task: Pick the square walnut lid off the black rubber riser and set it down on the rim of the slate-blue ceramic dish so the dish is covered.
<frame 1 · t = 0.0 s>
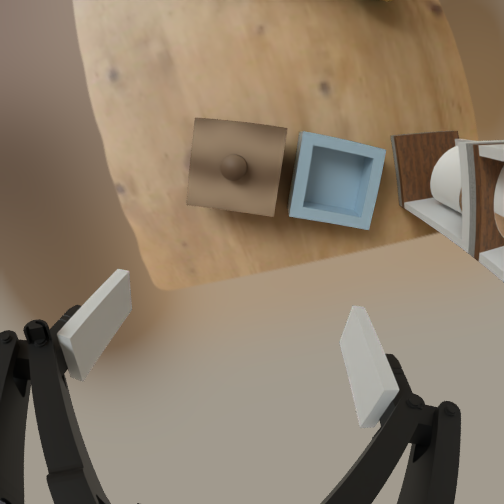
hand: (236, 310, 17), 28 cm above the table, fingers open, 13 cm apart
lid: (236, 164, 37), point 4 cm above the table, touching riser
white stacked pedestal: (426, 166, 39), on the table
dish: (331, 176, 40), on the table
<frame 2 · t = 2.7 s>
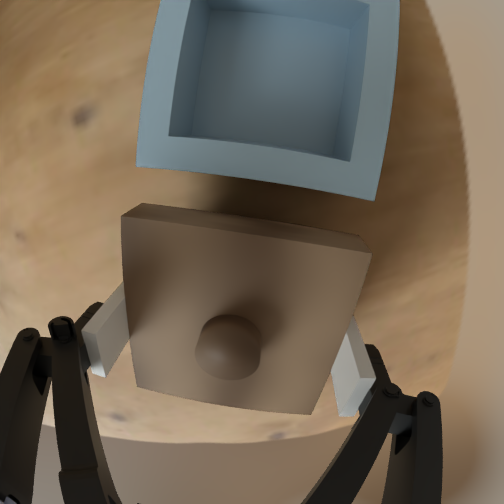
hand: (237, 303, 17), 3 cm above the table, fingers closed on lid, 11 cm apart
lid: (236, 312, 16), point 4 cm above the table, touching gripper, riser
dish: (271, 78, 15), on the table
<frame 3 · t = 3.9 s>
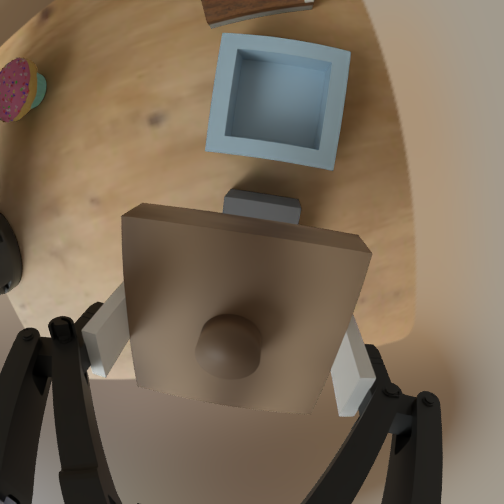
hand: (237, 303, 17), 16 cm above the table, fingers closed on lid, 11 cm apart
lid: (236, 312, 16), point 16 cm above the table, touching gripper
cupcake: (36, 90, 27), on the table
riser: (259, 225, 32), on the table
dish: (278, 103, 27), on the table
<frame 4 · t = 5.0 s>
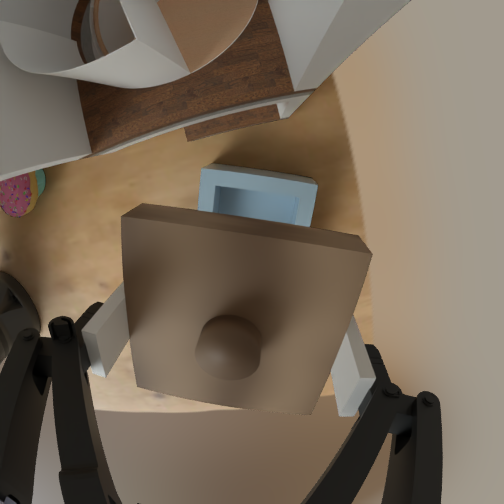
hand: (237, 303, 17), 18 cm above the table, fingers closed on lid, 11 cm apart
lid: (236, 312, 16), point 19 cm above the table, touching gripper
white stacked pedestal: (227, 80, 28), on the table
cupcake: (36, 178, 33), on the table
dish: (254, 217, 34), on the table
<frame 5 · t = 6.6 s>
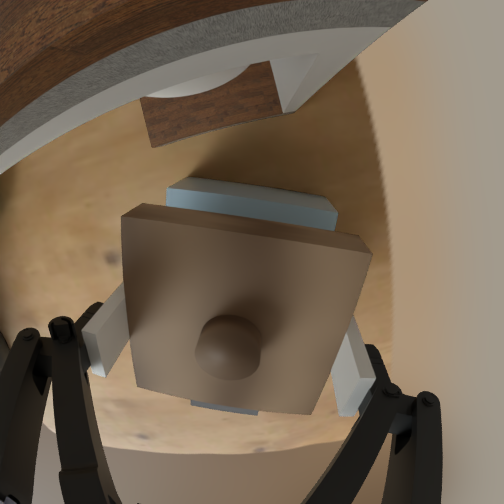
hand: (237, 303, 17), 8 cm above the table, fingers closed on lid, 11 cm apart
lid: (236, 312, 16), point 9 cm above the table, touching gripper
white stacked pedestal: (208, 62, 19), on the table
riser: (231, 363, 30), on the table
dish: (246, 250, 25), on the table
when the fingers open (5 cm above the table, at t = 7.8 s): lid drops 1 cm, resting on dish.
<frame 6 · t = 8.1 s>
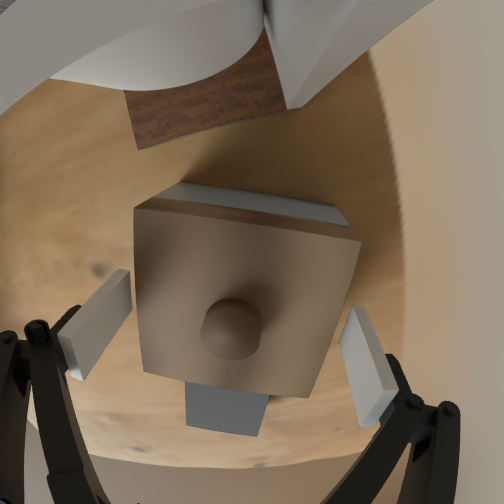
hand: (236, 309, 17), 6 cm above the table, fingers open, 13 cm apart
lid: (237, 299, 18), point 5 cm above the table, touching dish
white stacked pedestal: (203, 53, 17), on the table
riser: (229, 381, 27), on the table
dish: (245, 264, 22), on the table
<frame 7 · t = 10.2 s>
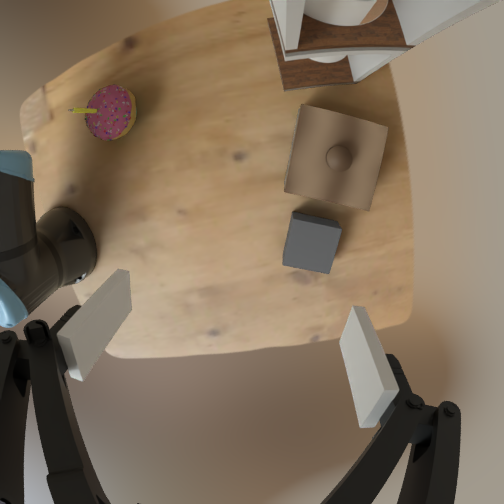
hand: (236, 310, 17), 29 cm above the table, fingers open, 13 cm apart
lid: (334, 156, 35), point 5 cm above the table, touching dish
white stacked pedestal: (312, 51, 35), on the table
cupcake: (125, 113, 40), on the table
riser: (309, 238, 45), on the table
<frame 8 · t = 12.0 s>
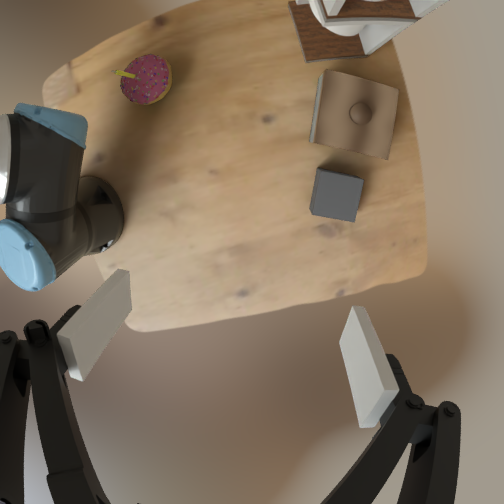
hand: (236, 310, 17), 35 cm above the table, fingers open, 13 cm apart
lid: (354, 115, 38), point 5 cm above the table, touching dish
white stacked pedestal: (327, 30, 37), on the table
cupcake: (156, 83, 43), on the table
riser: (333, 192, 48), on the table
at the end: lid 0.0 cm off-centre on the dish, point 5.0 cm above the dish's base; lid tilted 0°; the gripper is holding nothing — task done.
